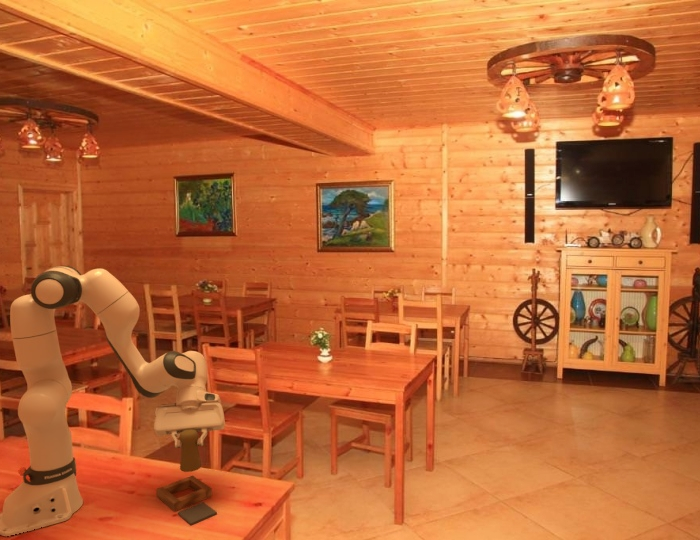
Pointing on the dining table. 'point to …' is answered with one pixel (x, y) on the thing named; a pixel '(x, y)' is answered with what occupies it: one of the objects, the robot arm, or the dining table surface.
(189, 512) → the rubber mat
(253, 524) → the dining table surface
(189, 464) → the cork
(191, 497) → the walnut housing
